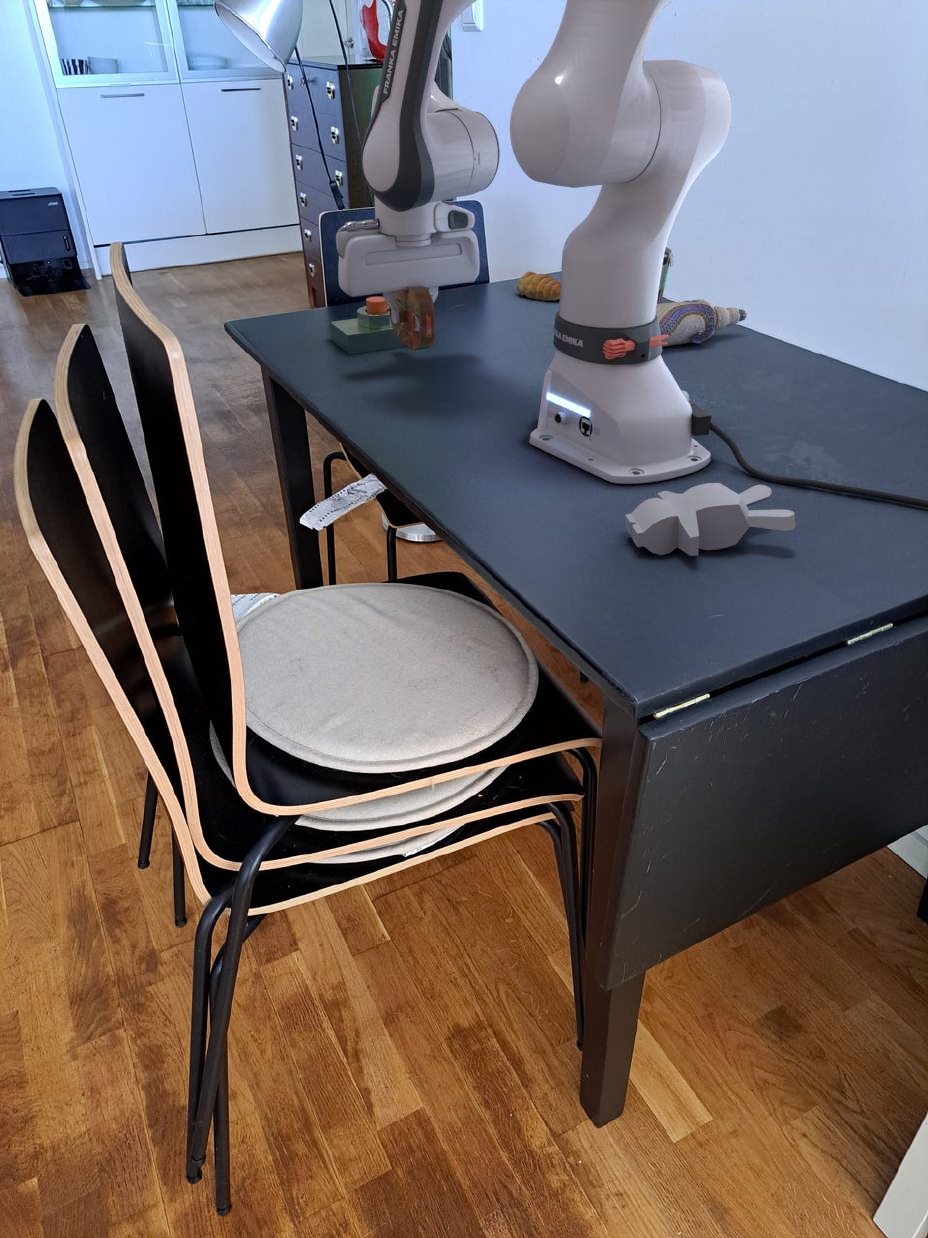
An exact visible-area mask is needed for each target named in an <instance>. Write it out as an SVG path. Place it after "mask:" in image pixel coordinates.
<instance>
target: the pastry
mask: <svg viewBox="0 0 928 1238" xmlns="http://www.w3.org/2000/svg"><path fill="white" fill-rule="evenodd" d="M560 287H561V281H559V280H558V279H555V278H553V277H552V275H549V274H545V273H537V272H534V271H527V272H525V273H524V274H523V275H521V277H520V279H519V280H518V283H517V285H516V291H518V293H519V294H520V295H521V296H526V297H527V298H530V299H535V300H537V301H538V300H540V301H544V302H546V301H557V300H560Z"/></svg>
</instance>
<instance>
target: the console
mask: <svg viewBox="0 0 928 1238" xmlns="http://www.w3.org/2000/svg"><path fill="white" fill-rule="evenodd" d="M356 317H357V318H350V319H342V320H334V321H330V334H331V342H333V343H334V344H335V345H337V346H338V347H339V349H342V350H343V351H344V352H345V353H347V355H356V354H361V353H368V352H375V351H382V350H389V349H396V348H402V347H408V346H407V345H406V344H405V343H404V342H403V341H401V340H400V339H399V338H398V337H397V336H396V334H395V333H394V330H393V328H392V324H391V319H390V313H389V306H388V304H387V312H385V313H368V312H367V306H366V305H364V306H362V307H359V308H358V309H357V310H356Z"/></svg>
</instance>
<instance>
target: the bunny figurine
mask: <svg viewBox="0 0 928 1238" xmlns="http://www.w3.org/2000/svg"><path fill="white" fill-rule="evenodd" d="M772 492H773V491H772V488H771V487H769V486H767V485H765V484H756V485H753V486H751V487H749V488H747V489H746V490H743V491H742V492H739V493H738V492H735V491H734V490H732V489H730V487H727V486H725V484H722V483H721V482H709V483H702V484H698V485H695V486H692V487H690V488H688V489H686V490H685V491H684V492H683V493H677V492H672V491H668V490H663V491H660V492H657V496H656V497H652V498H647V499H645V500H644V501H642V502H641V503H640V504H638V505H637V507H635V508H634V510H633V511H632V512H631V513H627V514H625V516H624V518H625V519H624V521H625V523H624V524H625V525H624V526H625V530H626V532H627V533H628V535H629V536H630V537H632V541H633V543H634V545H635V546H636V547H637V548H642V547H644V548H645V549H646V550H648V551H649V552H651V553H652V554H655V555H659V556H663V555H668V554H671V552H673V551H674V550H676V549H677V548H678V549H679V550H681V551H682V552H684V553H685V554H687V555H688V556H690V557H692V556H693V557H695V556H696V557H697V556H698V557H699V554H700V553H699V549H700V550H704V551H713V550H715V551H717V550H720V549H725V548H729V547H732V546H735V545H737V544H738V542H739V541H740V540H741V539H742V538H743V536H744V535H745V533H746V532H747V531H748V530H749V529H750V527H751V528H758V529H766V530H775V531H783V532H787V531H792V530H794V529H795V528H796V516H795V512H794V511H793V510H789V509H782V508H781V509H779V508H777V509H749V507H751V506H753V505H756V504H759V503H762V502H765V501H767V500H769V499H770V498H771V495H772Z"/></svg>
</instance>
